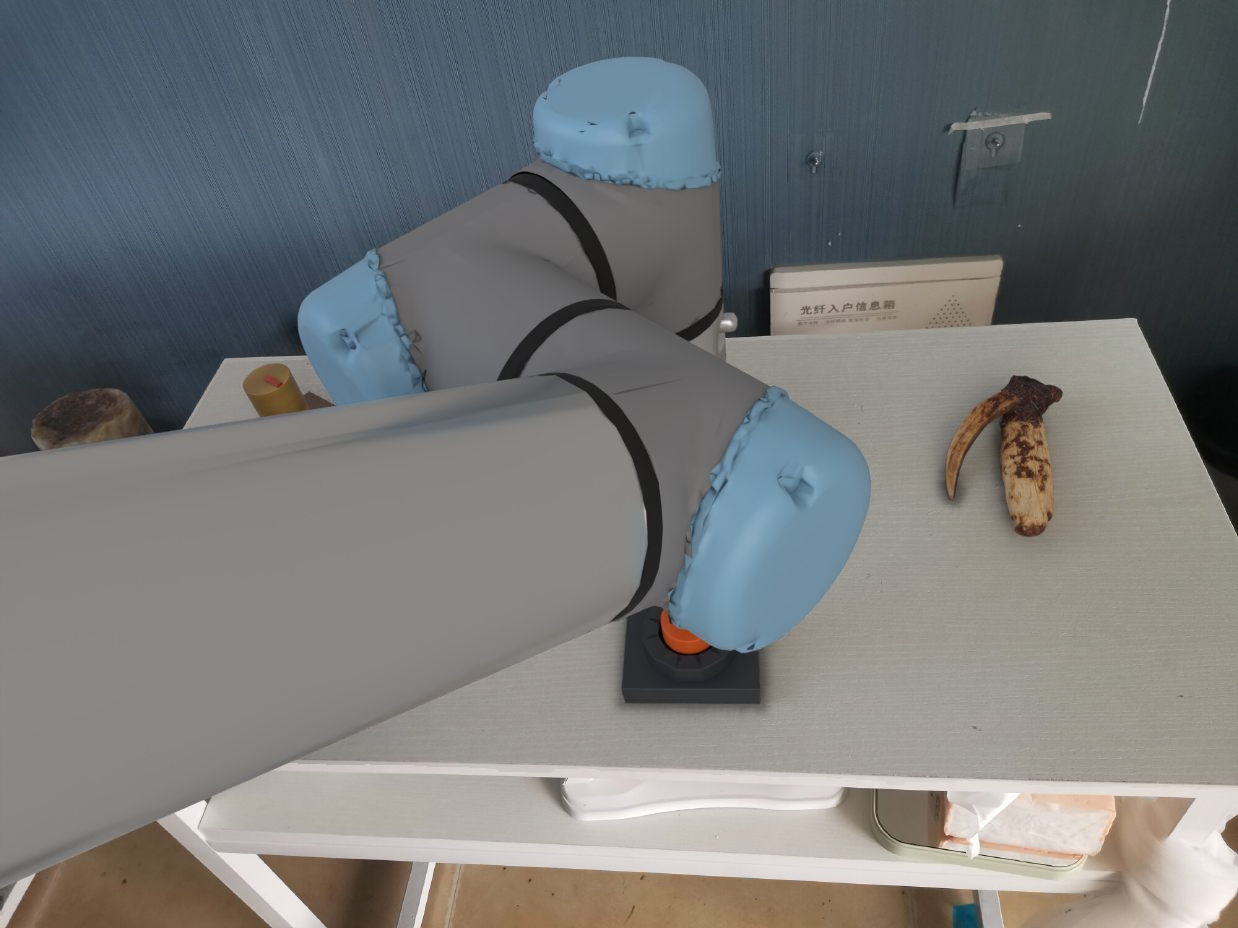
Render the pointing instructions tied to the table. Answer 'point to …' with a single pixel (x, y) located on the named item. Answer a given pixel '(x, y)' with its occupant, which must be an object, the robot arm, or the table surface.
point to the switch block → (683, 669)
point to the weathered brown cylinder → (88, 419)
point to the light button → (681, 637)
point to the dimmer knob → (274, 391)
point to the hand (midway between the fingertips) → (688, 614)
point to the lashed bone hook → (1014, 450)
